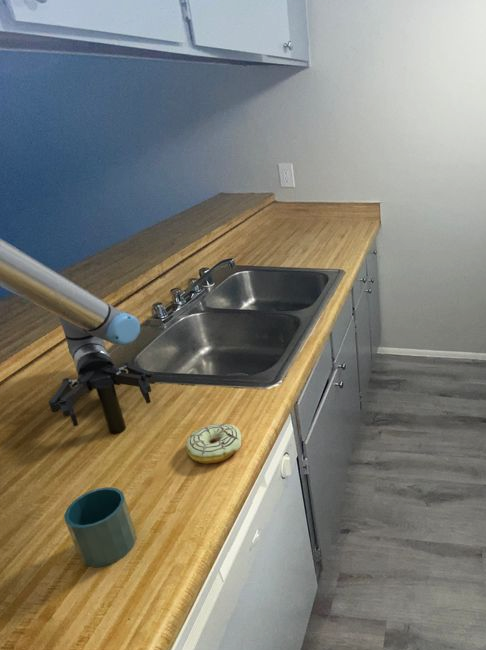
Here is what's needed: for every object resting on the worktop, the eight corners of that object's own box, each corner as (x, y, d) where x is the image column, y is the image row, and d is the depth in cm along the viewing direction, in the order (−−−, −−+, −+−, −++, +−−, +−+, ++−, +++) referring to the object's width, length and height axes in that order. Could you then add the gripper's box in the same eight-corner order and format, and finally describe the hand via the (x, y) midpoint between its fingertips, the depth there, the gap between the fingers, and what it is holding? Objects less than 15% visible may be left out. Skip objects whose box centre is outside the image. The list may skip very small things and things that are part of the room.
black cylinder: (108, 428, 104) (94, 382, 99) (124, 423, 106) (111, 377, 100) (110, 435, 102) (96, 389, 96) (127, 430, 104) (114, 384, 98)
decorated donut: (251, 452, 99) (249, 438, 97) (199, 475, 93) (196, 460, 91) (230, 427, 106) (228, 413, 104) (181, 447, 99) (178, 433, 98)
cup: (77, 541, 78) (61, 502, 74) (130, 518, 83) (118, 480, 79) (84, 576, 73) (68, 536, 69) (141, 549, 77) (129, 510, 73)
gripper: (153, 363, 123) (177, 403, 108) (36, 395, 108) (45, 445, 94) (147, 338, 119) (171, 375, 105) (25, 367, 105) (34, 415, 90)
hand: (112, 408), depth 99 cm, fingers open, 13 cm apart
